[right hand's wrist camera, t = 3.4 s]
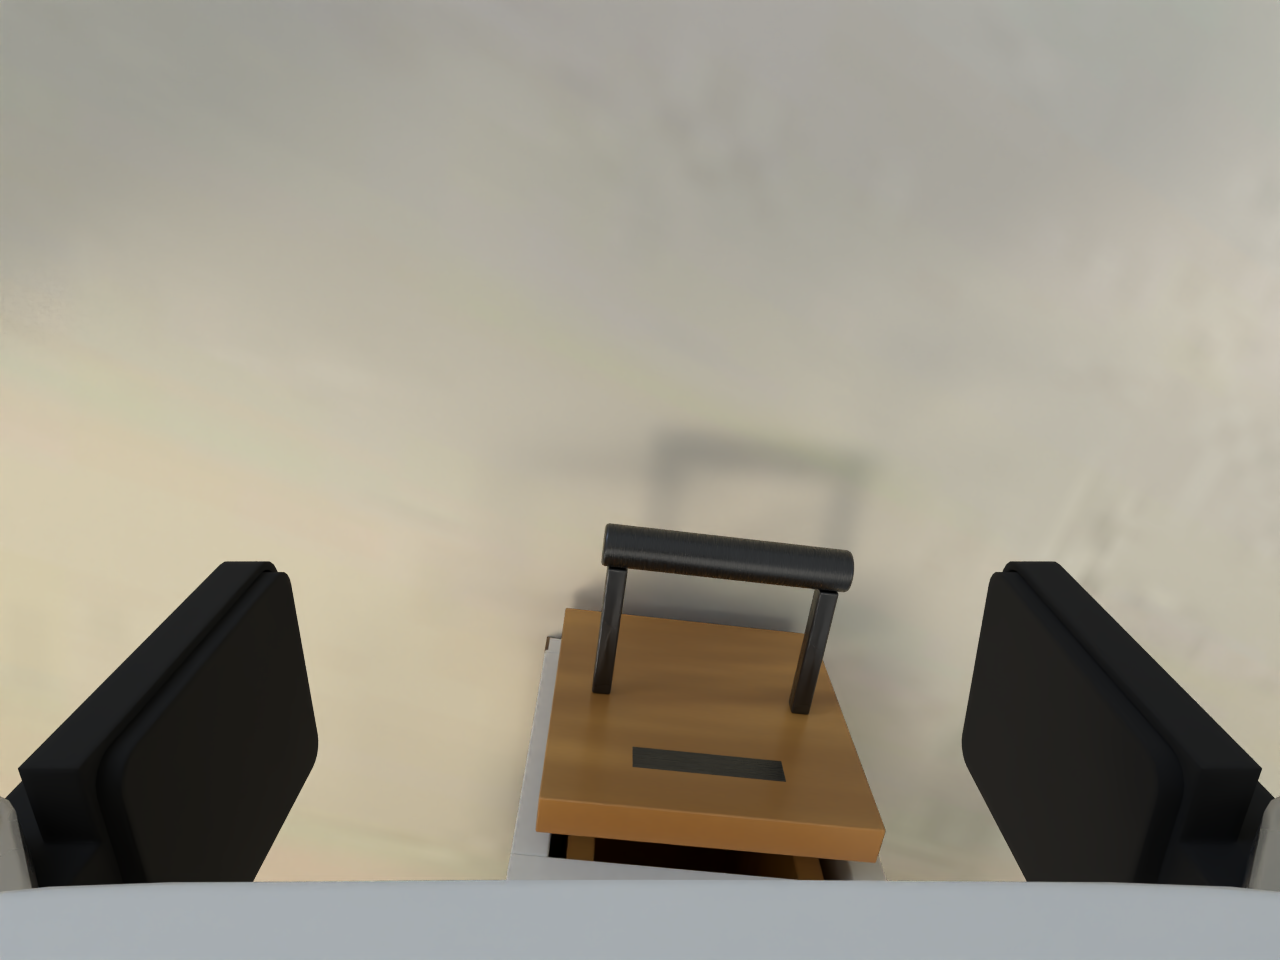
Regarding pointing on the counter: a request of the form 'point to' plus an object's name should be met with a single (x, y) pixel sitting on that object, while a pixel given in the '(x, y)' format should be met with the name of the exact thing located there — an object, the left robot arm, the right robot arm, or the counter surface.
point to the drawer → (705, 724)
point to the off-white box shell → (542, 861)
